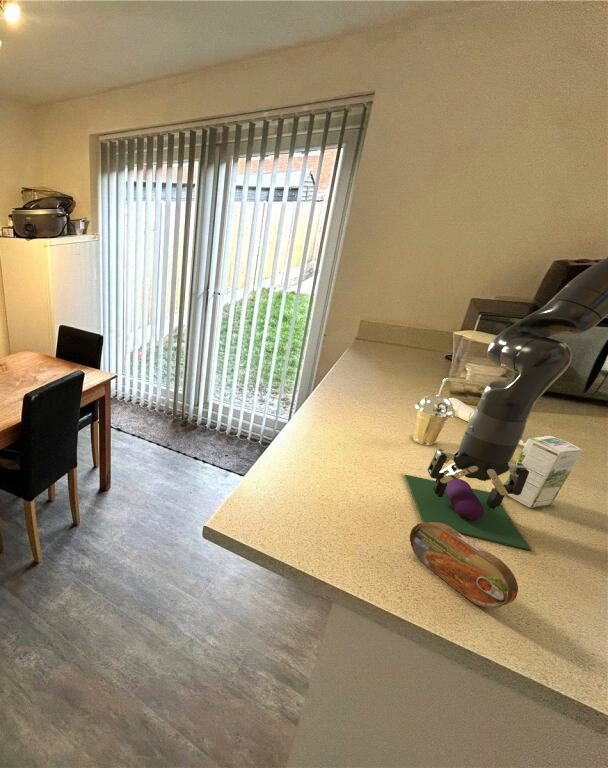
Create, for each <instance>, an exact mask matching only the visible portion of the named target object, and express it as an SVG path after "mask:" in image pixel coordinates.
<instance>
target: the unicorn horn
mask: <svg viewBox="0 0 608 768" xmlns="http://www.w3.org/2000/svg"><path fill="white" fill-rule="evenodd" d="M448 399H449V400H450V401H451V403H452V405H453V409H454V410H455V416H454V417H457V418H459V419H461V420H463V421H466V422H467V423H469V421H470V419H471V417H472V415H473V413H474V412H475V410H476V409H474V408H472V407H471V406H469V405H468V404H465V403H464V402H463V401H461V400H460V399H458V398H456V397H450V398H448ZM525 444H526V442H524V441H523V440H522V439H521V440H520V441H519V443H518V446H519V445H520V446H521V447H524V446H525Z"/></svg>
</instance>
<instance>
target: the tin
mask: <svg viewBox="0 0 608 768" xmlns="http://www.w3.org/2000/svg"><path fill="white" fill-rule="evenodd" d="M409 543H410V547H411V549H412V551H413V554H414V555H415V557H416V558H417V559H418V560H419V562H420V563H422V565H424V566H425V567H427V569H429V570H430V571H431V572H432V573H434V574H435V575H436V576H438V577H439V578H440V579H441V580H443V581H444V582H445V583H447V584H448V585H449V586H450V587H451V588H453V589H454V590H456V591H457V592H458V593H459V594H460V595H461V596H462V597H464V598H465V599H467V600H468V601H470V602H471V603H473V604H475V605H477V606H479V607H482V608H486V609H498V608H502V607H503V606H507V605H510V604H511V603H513V602H514V601H515V600H516V598H517V597H518V592H519V585H518V581H517V578H516V576H515V575H514V573H513V571H512V570H511V569H510V568H509V566H508V565H506V563H504V561H503V560H501V559H500V558H499V557H497V556H495V555H494V554H492V553H491V552H489V550H486V549H485V548H483V547H482V546H480V545H479V544H477V543H476V542H474V541H473V540H471V539H470V538H468V537H467V536H466V535H464V534H460V533H459V532H458V531H456V530H454V529H453V528H451V527H450V526H448V525H446V524H443V523H438V522H429V523H423V522H420V523H418V524H415V525H414V526H413V527H412V528H411V531H410V533H409Z"/></svg>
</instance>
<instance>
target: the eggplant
mask: <svg viewBox="0 0 608 768" xmlns="http://www.w3.org/2000/svg"><path fill="white" fill-rule="evenodd" d="M472 489H473V488H472V486H471V484H469V483H468V482H467V481H466V480H464V479H462V478H458V479H453V480H451V481H449V482H447V487H446V489H445V491H446V493H447V495H448V497H449V499H450V501H451V503H452V505H453V507H454V509H455V511H456V513H457V514H458V515H459V516H460V517H462V518H464V519H466V520H478V519H480V518H481V517H482V516H483V515H484V509H483V506H482V505H481V503H480V501H479V500H478V498H477V496H476V495H475V493H474V491H473V490H472Z"/></svg>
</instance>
